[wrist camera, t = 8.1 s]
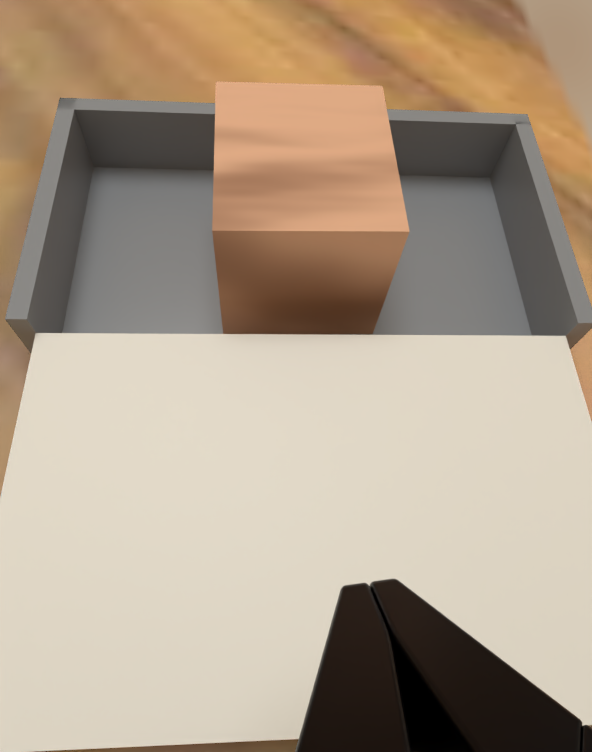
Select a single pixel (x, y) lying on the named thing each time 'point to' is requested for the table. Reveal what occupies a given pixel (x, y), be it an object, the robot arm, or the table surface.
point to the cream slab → (278, 522)
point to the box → (195, 238)
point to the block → (304, 207)
